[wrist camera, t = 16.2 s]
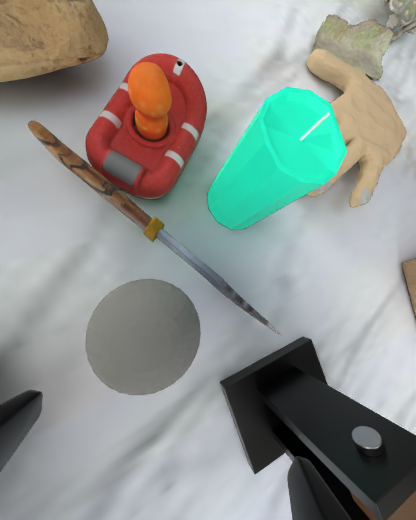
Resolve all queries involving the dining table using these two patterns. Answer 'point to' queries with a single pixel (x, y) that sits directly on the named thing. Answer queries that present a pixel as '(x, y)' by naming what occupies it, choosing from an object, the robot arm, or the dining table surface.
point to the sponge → (355, 43)
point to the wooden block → (411, 280)
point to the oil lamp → (48, 36)
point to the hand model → (359, 124)
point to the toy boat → (149, 127)
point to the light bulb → (143, 337)
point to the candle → (278, 158)
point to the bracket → (321, 431)
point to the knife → (135, 213)
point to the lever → (407, 516)
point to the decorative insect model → (402, 16)
